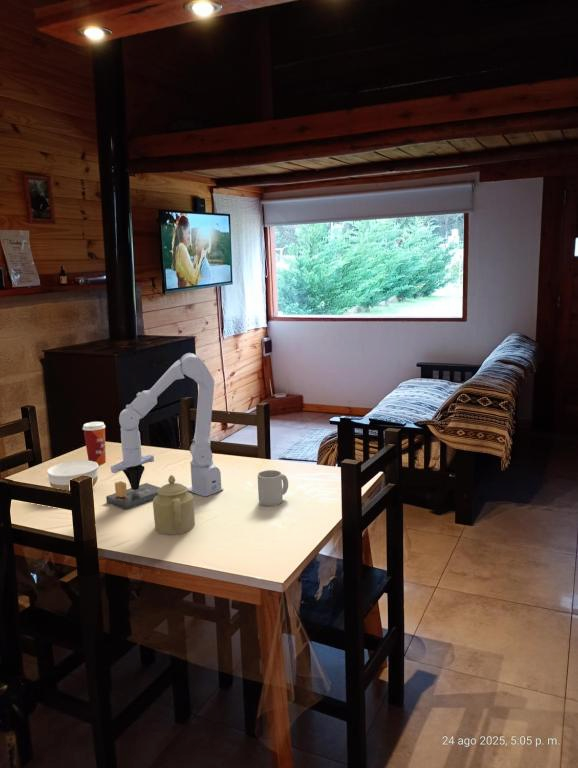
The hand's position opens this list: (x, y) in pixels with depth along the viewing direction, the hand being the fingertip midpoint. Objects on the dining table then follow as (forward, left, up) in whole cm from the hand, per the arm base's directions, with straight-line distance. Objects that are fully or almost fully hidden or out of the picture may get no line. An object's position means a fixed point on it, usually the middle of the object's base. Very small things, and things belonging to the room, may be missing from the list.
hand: (135, 489), depth 200 cm
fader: (0, +5, -1) cm, 5 cm away
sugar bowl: (-30, +6, -3) cm, 31 cm away
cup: (-37, -25, -3) cm, 44 cm away
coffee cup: (+43, -13, -3) cm, 45 cm away
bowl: (+22, +8, -3) cm, 24 cm away
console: (-1, 0, -3) cm, 3 cm away
